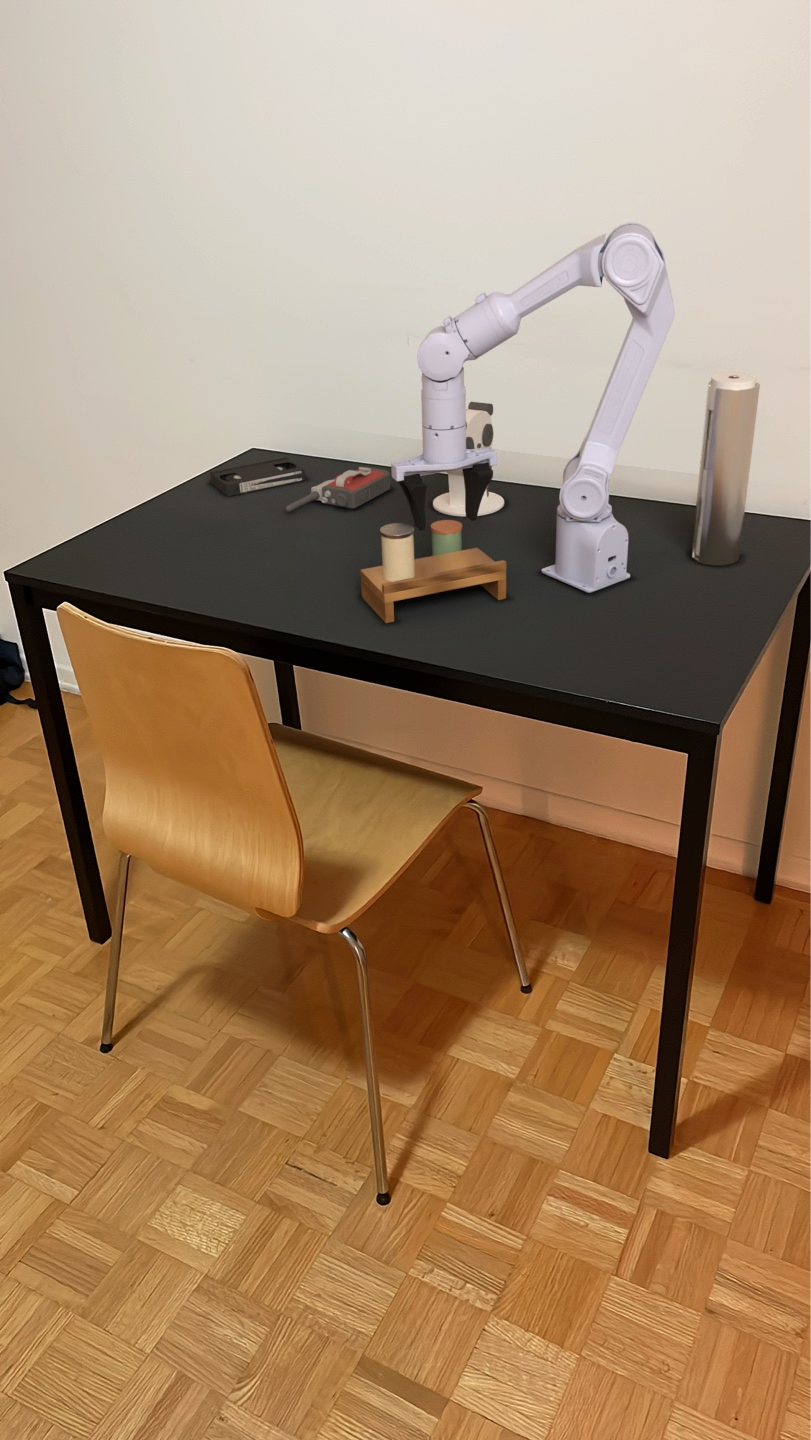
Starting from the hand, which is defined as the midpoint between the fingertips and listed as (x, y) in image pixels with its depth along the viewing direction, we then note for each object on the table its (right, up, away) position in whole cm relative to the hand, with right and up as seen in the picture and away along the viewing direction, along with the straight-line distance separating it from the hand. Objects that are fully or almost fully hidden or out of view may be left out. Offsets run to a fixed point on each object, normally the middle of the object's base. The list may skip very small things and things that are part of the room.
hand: (445, 523), depth 155 cm
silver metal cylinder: (+38, -4, +4) cm, 38 cm away
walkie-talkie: (-16, +8, +29) cm, 34 cm away
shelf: (-2, -11, -5) cm, 12 cm away
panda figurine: (+4, +7, +26) cm, 27 cm away
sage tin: (0, -6, +4) cm, 7 cm away
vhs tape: (-31, +14, +39) cm, 52 cm away
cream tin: (-6, -8, -8) cm, 13 cm away
